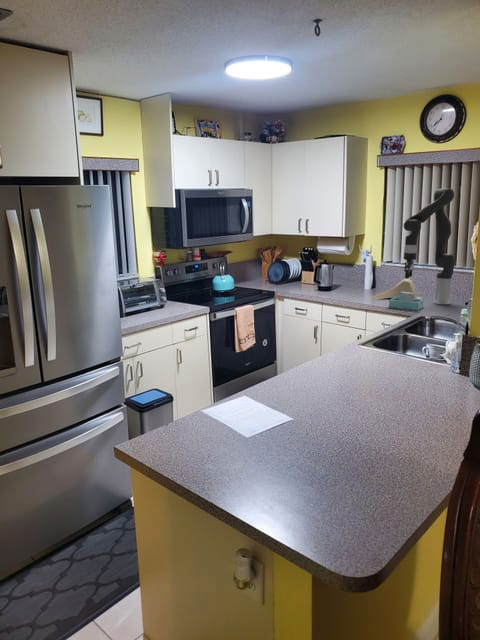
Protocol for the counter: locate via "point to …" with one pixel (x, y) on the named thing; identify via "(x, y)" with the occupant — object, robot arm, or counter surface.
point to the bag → (398, 290)
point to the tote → (406, 304)
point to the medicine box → (406, 296)
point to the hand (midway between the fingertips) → (408, 277)
